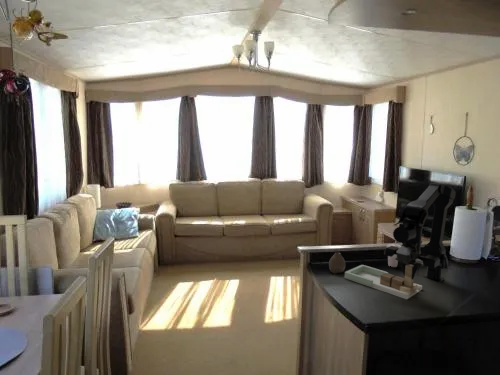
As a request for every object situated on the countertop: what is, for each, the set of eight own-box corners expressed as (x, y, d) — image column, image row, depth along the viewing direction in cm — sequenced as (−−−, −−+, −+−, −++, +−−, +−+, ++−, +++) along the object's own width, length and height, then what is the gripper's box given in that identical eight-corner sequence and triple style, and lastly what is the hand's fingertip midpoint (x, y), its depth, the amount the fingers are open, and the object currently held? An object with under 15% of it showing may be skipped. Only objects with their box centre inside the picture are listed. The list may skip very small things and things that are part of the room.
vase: (346, 271, 162) (347, 252, 161) (343, 276, 156) (344, 256, 154) (330, 268, 165) (331, 249, 163) (326, 273, 159) (328, 254, 157)
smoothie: (401, 268, 167) (403, 239, 165) (386, 267, 168) (388, 237, 166) (398, 264, 173) (401, 235, 171) (384, 262, 174) (386, 234, 172)
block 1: (384, 282, 148) (385, 272, 148) (394, 285, 146) (395, 275, 145) (379, 284, 146) (380, 274, 145) (389, 287, 143) (390, 278, 142)
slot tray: (361, 272, 161) (362, 264, 161) (422, 291, 143) (423, 282, 142) (344, 280, 152) (344, 272, 151) (406, 301, 133) (407, 292, 133)
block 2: (395, 285, 145) (396, 276, 145) (405, 288, 142) (406, 279, 142) (391, 288, 142) (391, 278, 142) (401, 291, 140) (402, 281, 139)
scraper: (407, 286, 143) (409, 262, 142) (416, 289, 141) (418, 264, 139) (399, 291, 138) (401, 266, 137) (408, 294, 136) (410, 268, 135)
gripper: (379, 236, 138) (375, 275, 140) (430, 248, 125) (426, 291, 127) (392, 231, 145) (389, 269, 148) (442, 242, 132) (438, 283, 134)
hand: (409, 277), depth 139 cm, fingers closed on scraper, 2 cm apart
